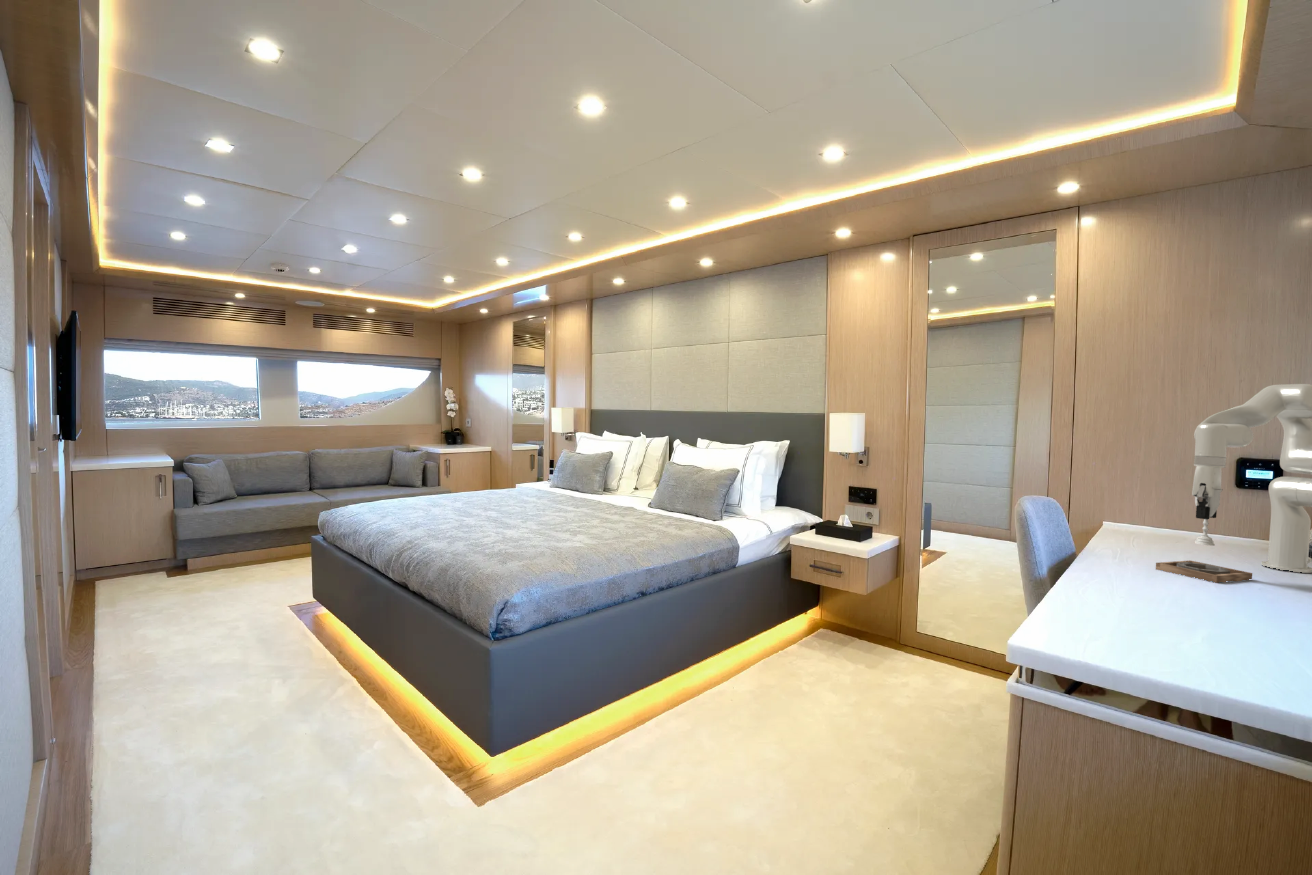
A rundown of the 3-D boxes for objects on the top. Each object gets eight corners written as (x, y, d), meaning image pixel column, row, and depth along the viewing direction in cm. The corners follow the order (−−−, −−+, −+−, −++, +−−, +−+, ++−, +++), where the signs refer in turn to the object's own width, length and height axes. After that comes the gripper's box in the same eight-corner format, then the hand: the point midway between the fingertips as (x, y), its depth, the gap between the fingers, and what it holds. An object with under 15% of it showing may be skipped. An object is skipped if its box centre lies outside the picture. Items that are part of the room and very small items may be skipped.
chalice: (1225, 546, 193) (1229, 490, 192) (1203, 545, 193) (1207, 489, 193) (1205, 541, 200) (1208, 487, 200) (1184, 541, 200) (1187, 486, 200)
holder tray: (1189, 566, 208) (1190, 559, 208) (1251, 579, 192) (1252, 572, 192) (1155, 569, 202) (1156, 561, 202) (1216, 583, 186) (1216, 574, 186)
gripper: (1203, 460, 204) (1200, 514, 204) (1185, 461, 194) (1181, 517, 195) (1233, 462, 197) (1229, 518, 198) (1216, 463, 188) (1212, 521, 189)
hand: (1206, 517), depth 196 cm, fingers closed on chalice, 6 cm apart
